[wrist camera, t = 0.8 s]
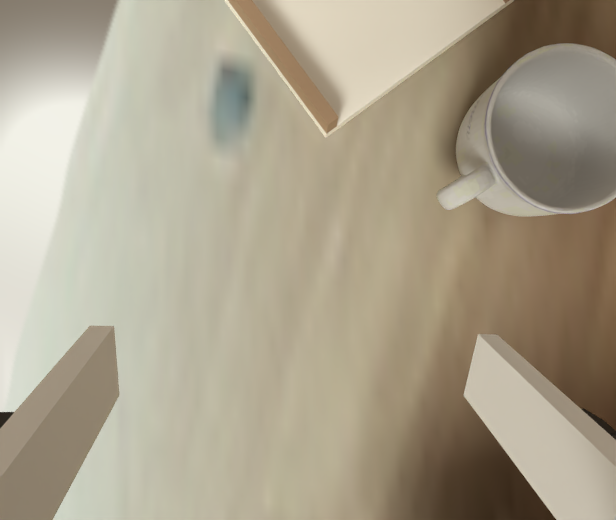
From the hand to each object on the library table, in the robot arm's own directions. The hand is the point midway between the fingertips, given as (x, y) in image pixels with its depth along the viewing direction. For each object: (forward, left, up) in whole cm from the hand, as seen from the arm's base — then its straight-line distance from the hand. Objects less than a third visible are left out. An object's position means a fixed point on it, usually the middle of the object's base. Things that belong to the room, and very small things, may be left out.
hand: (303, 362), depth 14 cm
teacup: (+1, -19, -18) cm, 27 cm away
